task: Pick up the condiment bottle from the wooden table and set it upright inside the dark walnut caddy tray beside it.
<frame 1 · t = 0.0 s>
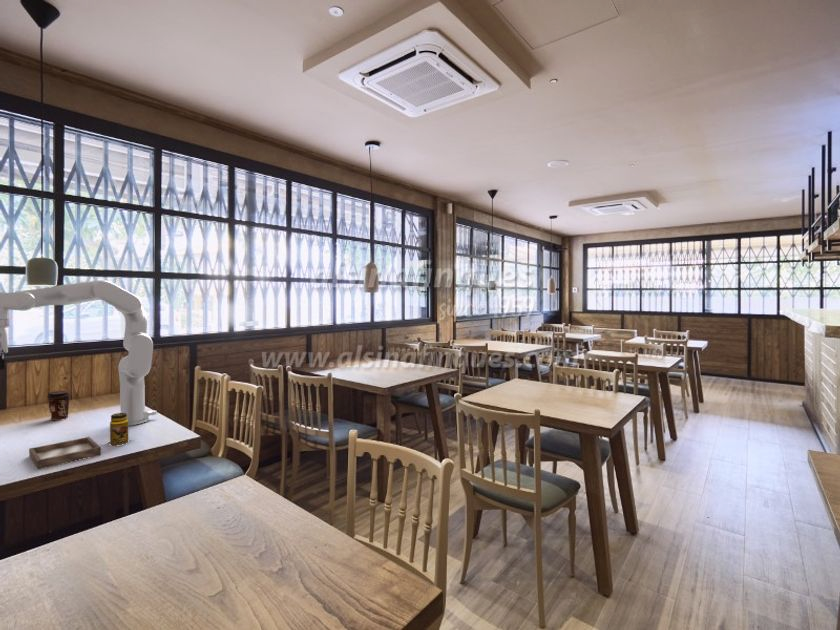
caddy tray: (65, 455, 160), on the table
coffee cup: (59, 419, 205), on the table
condiment: (117, 443, 175), on the table
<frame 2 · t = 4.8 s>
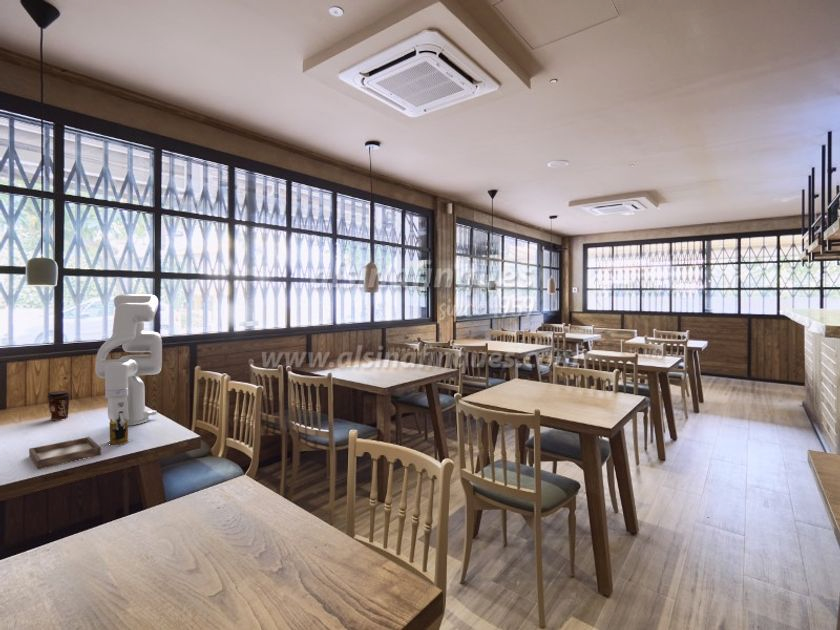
hand: (117, 436, 174), 3 cm above the table, tool pointing down, fingers closed on condiment, 6 cm apart
condiment: (117, 443, 175), on the table, touching gripper
everything else where it was.
when the fingers open (6 cm above the table, at t = 12.1 s): condiment drops 3 cm, resting on caddy tray.
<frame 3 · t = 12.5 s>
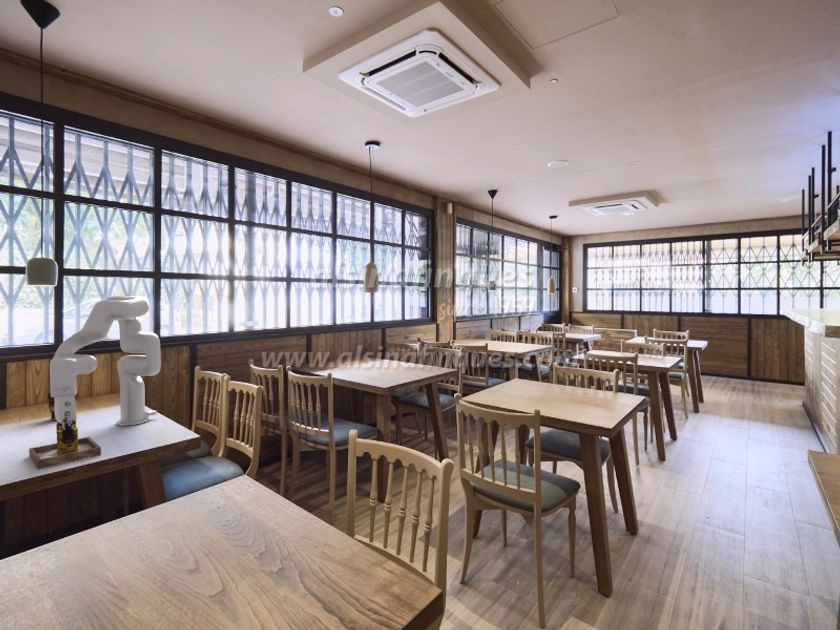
hand: (65, 436, 160), 7 cm above the table, tool pointing down, fingers open, 9 cm apart
condiment: (66, 453, 161), point 1 cm above the table, touching caddy tray
everything else where it was.
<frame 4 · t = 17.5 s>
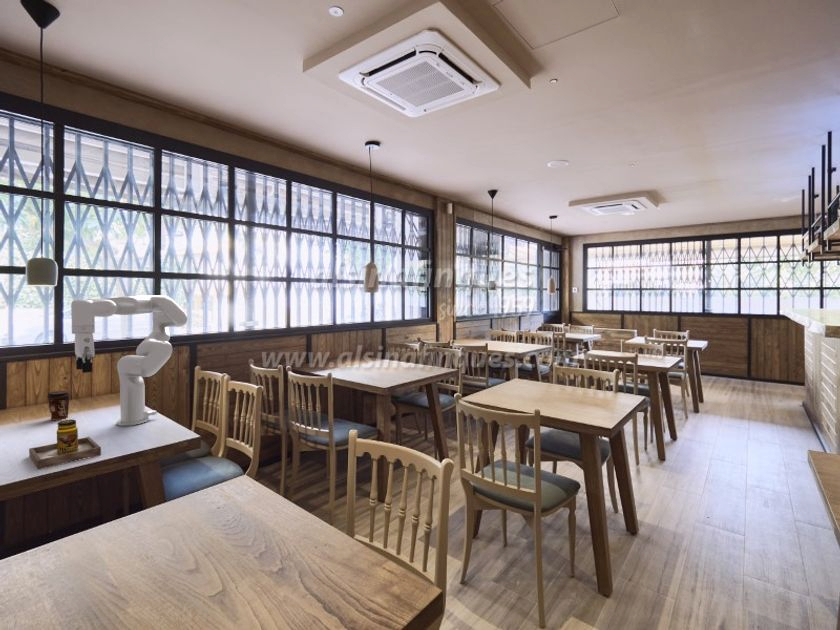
hand: (84, 370, 179), 28 cm above the table, tool pointing down, fingers open, 9 cm apart
nothing on the table moved.
at the end: condiment inside the target area on the caddy tray (0.9 cm from its centre), point 0.8 cm above the caddy tray's base; condiment tilted 0°; the gripper is holding nothing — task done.
